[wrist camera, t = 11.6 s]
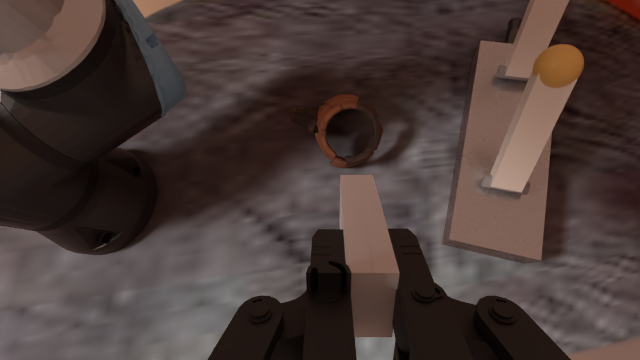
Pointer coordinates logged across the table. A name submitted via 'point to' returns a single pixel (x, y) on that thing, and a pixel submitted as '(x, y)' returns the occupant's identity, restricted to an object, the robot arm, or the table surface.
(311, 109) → the pottery mug
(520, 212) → the switch box
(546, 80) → the toggle
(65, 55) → the robot arm
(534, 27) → the toggle
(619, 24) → the table surface
